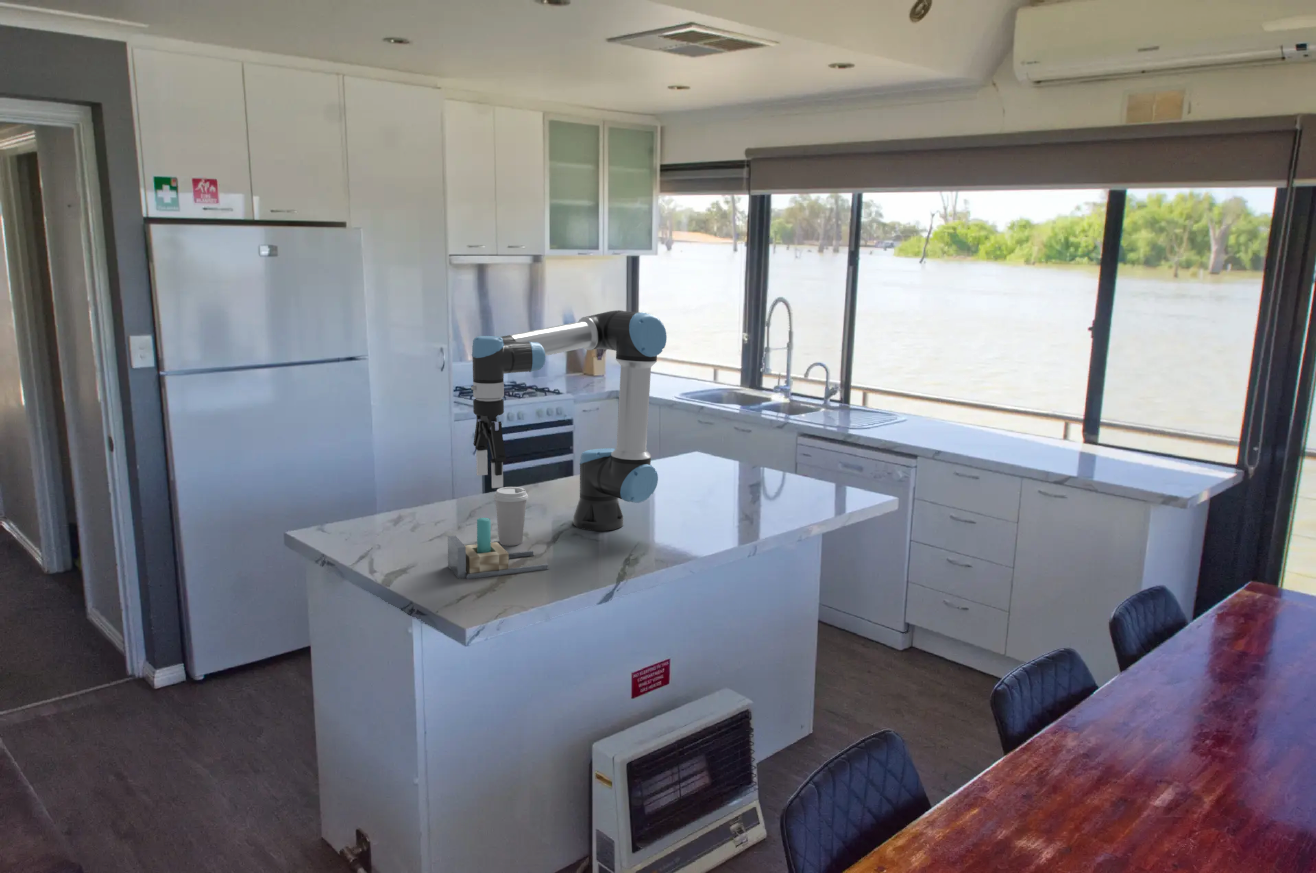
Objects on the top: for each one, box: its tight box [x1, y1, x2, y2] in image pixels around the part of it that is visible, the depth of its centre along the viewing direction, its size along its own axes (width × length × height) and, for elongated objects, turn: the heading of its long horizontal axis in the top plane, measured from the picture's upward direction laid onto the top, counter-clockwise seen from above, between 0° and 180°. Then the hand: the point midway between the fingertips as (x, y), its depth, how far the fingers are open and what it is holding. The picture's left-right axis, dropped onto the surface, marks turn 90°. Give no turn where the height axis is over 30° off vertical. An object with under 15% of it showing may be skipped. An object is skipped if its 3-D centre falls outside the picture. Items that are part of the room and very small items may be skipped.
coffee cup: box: [493, 486, 529, 547], centre depth 260 cm, size 10×10×15 cm
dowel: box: [476, 517, 492, 554], centre depth 237 cm, size 3×3×12 cm
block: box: [464, 541, 510, 574], centre depth 238 cm, size 10×10×5 cm
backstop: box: [447, 535, 549, 580], centre depth 239 cm, size 23×12×8 cm, turn 116°
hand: (489, 481), depth 236 cm, fingers open, 13 cm apart
